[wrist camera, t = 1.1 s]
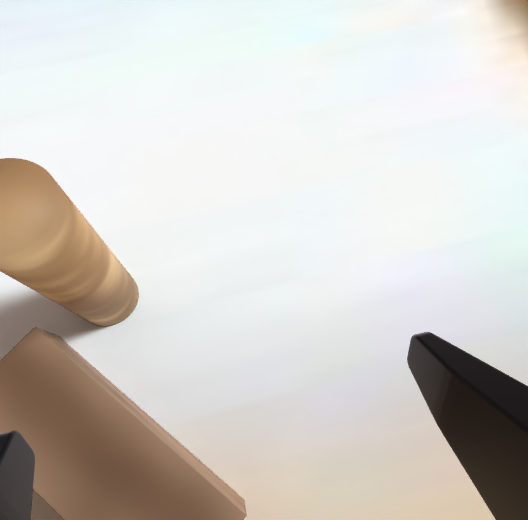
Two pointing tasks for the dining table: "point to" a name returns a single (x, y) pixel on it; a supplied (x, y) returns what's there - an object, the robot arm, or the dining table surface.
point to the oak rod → (58, 247)
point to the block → (101, 443)
